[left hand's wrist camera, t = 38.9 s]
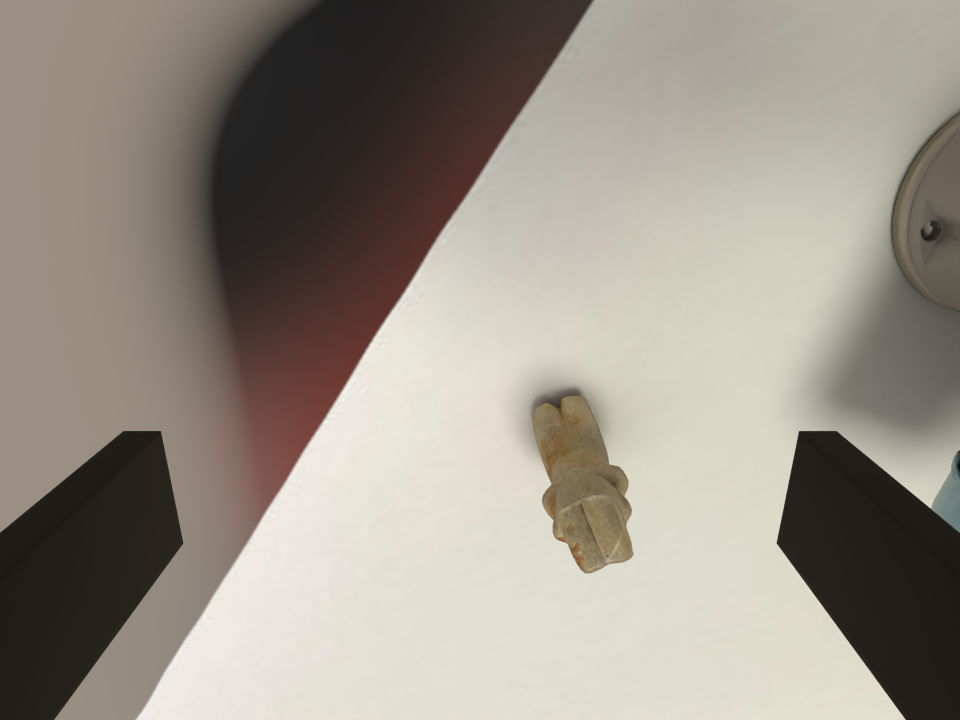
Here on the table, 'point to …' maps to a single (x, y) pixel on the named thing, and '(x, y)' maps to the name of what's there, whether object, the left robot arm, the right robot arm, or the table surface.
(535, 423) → the sculpture
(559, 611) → the table surface
